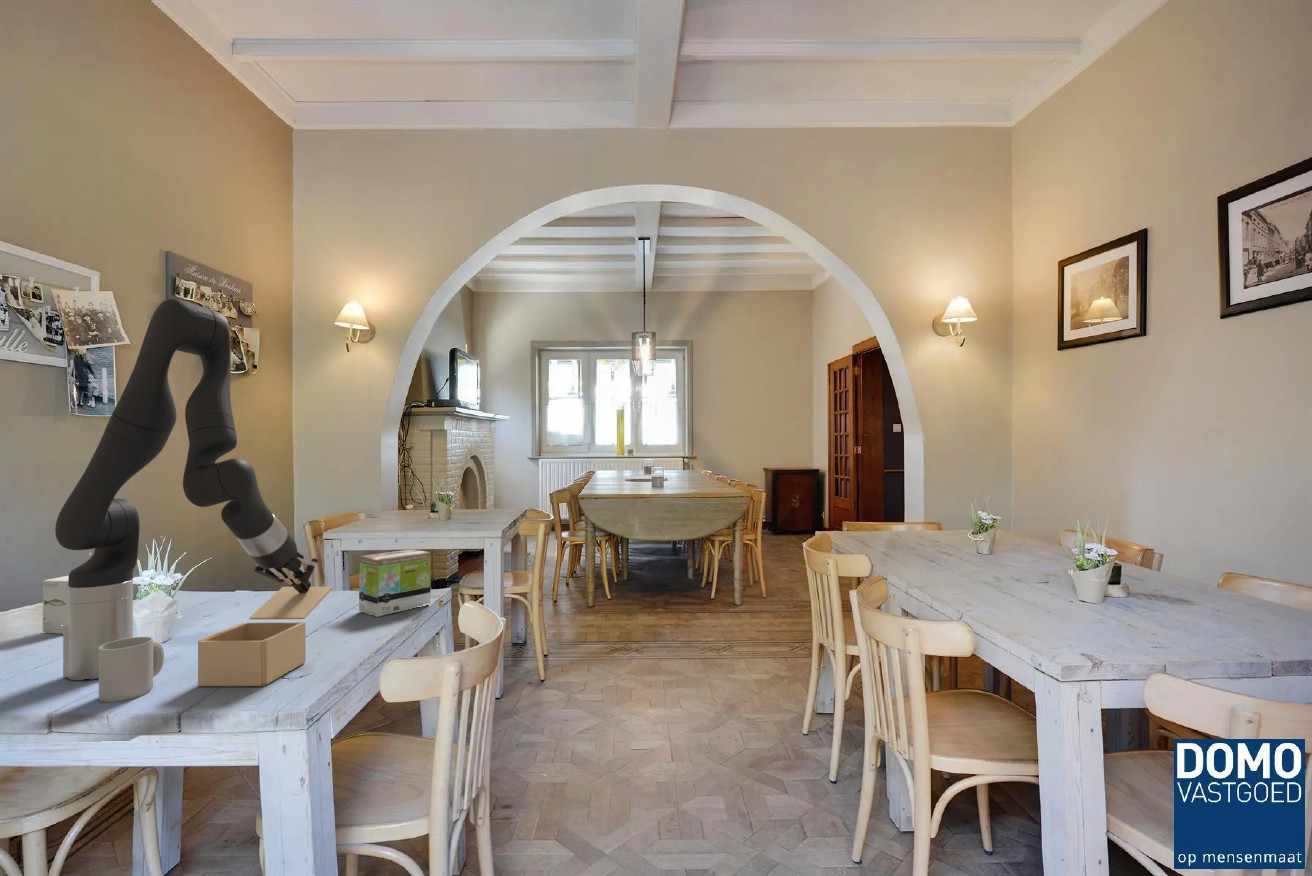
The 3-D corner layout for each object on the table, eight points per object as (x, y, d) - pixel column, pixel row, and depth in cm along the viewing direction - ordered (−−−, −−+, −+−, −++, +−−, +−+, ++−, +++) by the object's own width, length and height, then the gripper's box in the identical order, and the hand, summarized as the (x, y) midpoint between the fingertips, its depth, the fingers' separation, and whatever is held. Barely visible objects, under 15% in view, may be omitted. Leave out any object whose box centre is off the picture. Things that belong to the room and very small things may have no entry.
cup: (87, 701, 104) (87, 648, 104) (146, 679, 113) (146, 631, 114) (121, 704, 102) (121, 650, 102) (178, 681, 112) (178, 633, 112)
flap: (249, 617, 122) (282, 586, 132) (249, 619, 122) (283, 588, 132) (303, 617, 122) (333, 586, 132) (304, 619, 122) (333, 588, 132)
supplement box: (41, 633, 144) (41, 580, 144) (75, 624, 151) (75, 573, 151) (66, 635, 142) (67, 580, 143) (100, 625, 150) (100, 574, 150)
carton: (194, 687, 109) (194, 641, 109) (244, 662, 121) (243, 622, 122) (264, 687, 109) (264, 641, 109) (306, 662, 121) (306, 621, 121)
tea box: (378, 618, 153) (377, 559, 153) (358, 612, 159) (357, 555, 159) (431, 605, 165) (431, 550, 165) (411, 600, 171) (411, 547, 171)
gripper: (307, 523, 121) (342, 574, 133) (243, 525, 122) (283, 575, 134) (290, 554, 116) (328, 604, 128) (223, 556, 116) (267, 605, 128)
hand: (305, 589), depth 131 cm, fingers closed
